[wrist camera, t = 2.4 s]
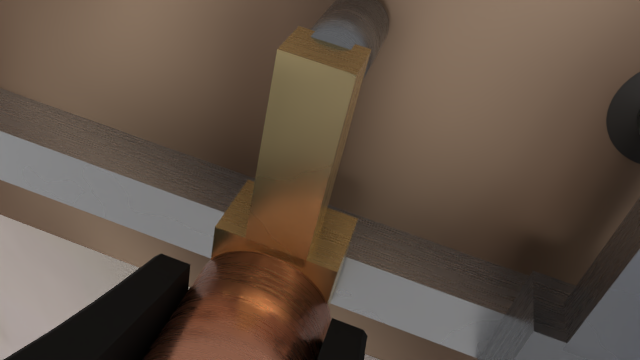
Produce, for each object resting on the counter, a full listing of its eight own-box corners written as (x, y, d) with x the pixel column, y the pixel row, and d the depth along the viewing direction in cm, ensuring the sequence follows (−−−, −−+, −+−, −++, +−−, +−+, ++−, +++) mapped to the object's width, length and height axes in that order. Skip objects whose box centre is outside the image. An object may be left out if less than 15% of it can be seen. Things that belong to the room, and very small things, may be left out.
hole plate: (1033, -33, 9) (1111, -5, 8) (615, 405, 17) (622, 453, 16) (-146, -350, 12) (-225, -365, 10) (-34, 162, 19) (-72, 188, 18)
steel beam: (710, 340, 13) (728, 396, 12) (669, 379, 14) (682, 435, 13) (-92, 55, 15) (-145, 78, 14) (-79, 106, 16) (-127, 132, 15)
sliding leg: (438, 16, 10) (360, 228, 5) (348, 278, 15) (258, 531, 10) (294, -29, 11) (93, 133, 6) (246, 241, 15) (109, 467, 10)
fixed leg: (763, 110, 10) (838, 214, 8) (572, 352, 14) (581, 468, 12) (625, 67, 10) (655, 155, 8) (478, 317, 14) (469, 424, 12)
